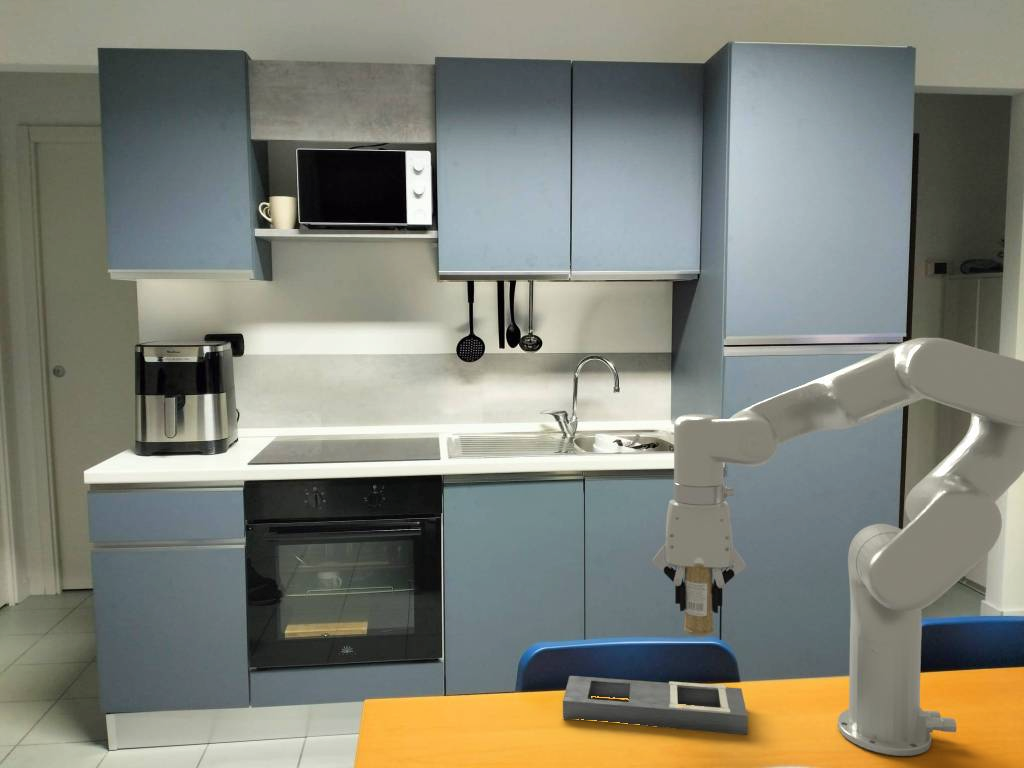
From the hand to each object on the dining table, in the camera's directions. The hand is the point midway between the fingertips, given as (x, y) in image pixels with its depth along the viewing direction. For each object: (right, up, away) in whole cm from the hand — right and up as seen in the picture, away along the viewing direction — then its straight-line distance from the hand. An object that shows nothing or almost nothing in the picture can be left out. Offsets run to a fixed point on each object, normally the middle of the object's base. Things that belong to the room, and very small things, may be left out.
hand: (698, 607), depth 119 cm
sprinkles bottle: (0, -4, 0) cm, 4 cm away
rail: (-7, -18, +2) cm, 19 cm away
